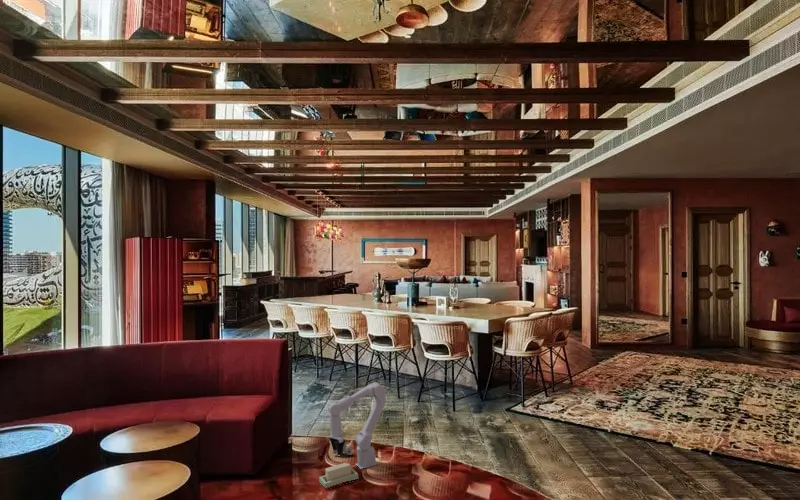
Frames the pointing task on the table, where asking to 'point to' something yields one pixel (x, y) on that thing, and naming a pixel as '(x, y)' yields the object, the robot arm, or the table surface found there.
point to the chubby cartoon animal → (344, 450)
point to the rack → (336, 481)
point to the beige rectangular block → (337, 471)
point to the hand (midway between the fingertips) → (337, 452)
